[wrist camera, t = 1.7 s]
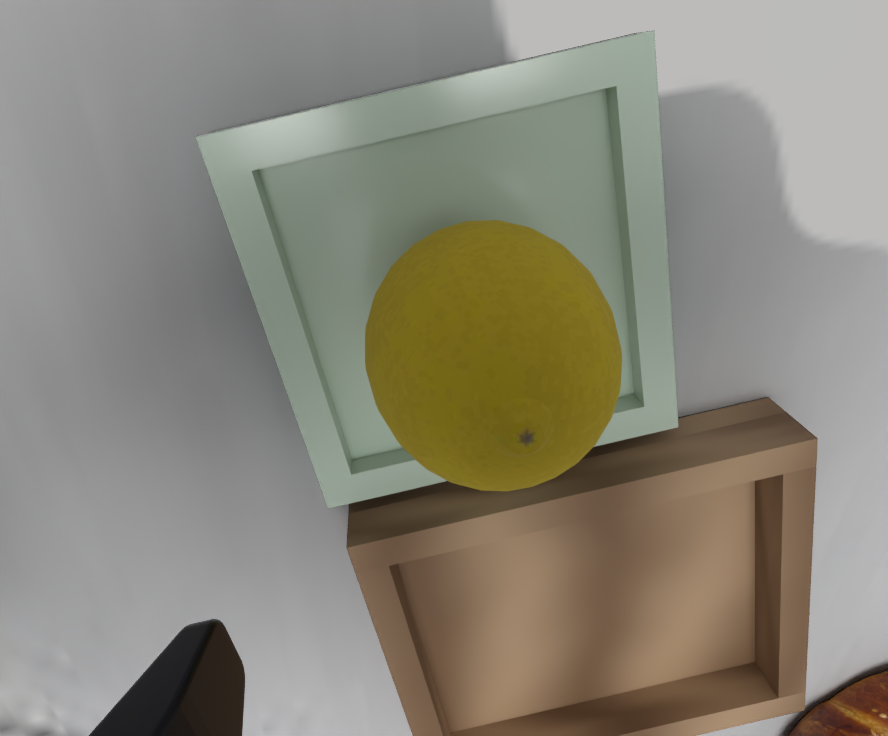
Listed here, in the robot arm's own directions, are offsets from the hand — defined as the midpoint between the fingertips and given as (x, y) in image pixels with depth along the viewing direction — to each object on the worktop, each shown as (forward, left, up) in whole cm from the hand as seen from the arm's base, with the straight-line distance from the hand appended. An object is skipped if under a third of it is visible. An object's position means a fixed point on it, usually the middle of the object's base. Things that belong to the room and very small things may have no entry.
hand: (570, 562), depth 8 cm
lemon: (0, 0, -11) cm, 11 cm away
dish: (0, 0, -11) cm, 11 cm away
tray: (+2, -12, -11) cm, 17 cm away
